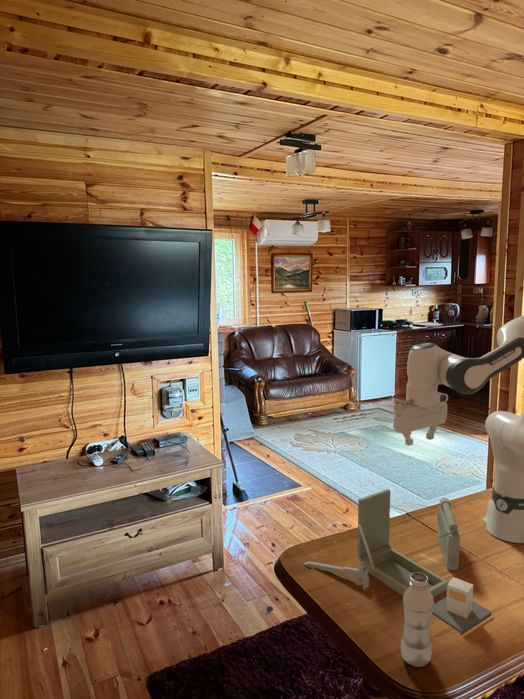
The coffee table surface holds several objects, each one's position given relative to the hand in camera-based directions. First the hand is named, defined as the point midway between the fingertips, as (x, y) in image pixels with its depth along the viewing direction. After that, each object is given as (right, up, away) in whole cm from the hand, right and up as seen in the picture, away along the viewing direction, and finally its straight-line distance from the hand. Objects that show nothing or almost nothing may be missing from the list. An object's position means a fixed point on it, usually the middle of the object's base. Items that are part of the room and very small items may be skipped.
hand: (419, 441), depth 150 cm
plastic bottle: (-14, -41, -40) cm, 59 cm away
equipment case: (-9, -36, -11) cm, 39 cm away
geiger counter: (+9, -34, +4) cm, 35 cm away
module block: (+2, -38, -26) cm, 45 cm away
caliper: (-27, -37, -9) cm, 47 cm away
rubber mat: (+2, -39, -25) cm, 46 cm away
